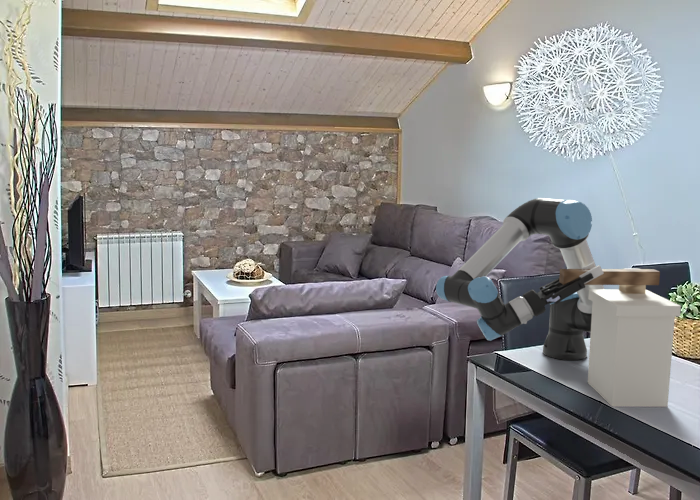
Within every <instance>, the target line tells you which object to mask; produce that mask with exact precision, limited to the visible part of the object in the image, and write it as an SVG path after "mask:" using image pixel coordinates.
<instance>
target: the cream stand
mask: <svg viewBox="0 0 700 500" xmlns="http://www.w3.org/2000/svg"><path fill="white" fill-rule="evenodd" d="M588 299H589V300H591V301H593V303H592V319H591V333H590V338H589V355H588V372H587V384H588V385H589V386H590V387H591V388H592V389H593V390H594V391H596V392H597V394H599V395H600V396H601V397H602V398H603V399H604V400H605V402H606V403H607V404H609V405H610V406H611V407H614V408H617V407H619V408H622V407H623V408H624V407H625V408H626V407H627V408H629V407H631V408H632V407H633V408H639V407H641V408H643V407H644V408H645V407H646V408H649V407H650V408H668V406H669V405H668V404H669V393H670V378H671V366H672V353H673V344H674V331H675V330H674V329H675V317H681V311H682V306H681V305H680V304H677V303H676V302H673V301H671V300H670V299H668V298H666V297H663V296H660V295H658V294H656V293H654V292H652V291H651V290H648V289H646V290H645V294H625V293H623V292H621V291H620V290H619V289H612V288H611V289H608V288H607V289H605V288H604V289H589V296H588Z"/></svg>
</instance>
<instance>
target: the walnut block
mask: <svg viewBox="0 0 700 500" xmlns="http://www.w3.org/2000/svg"><path fill="white" fill-rule="evenodd" d="M601 269H602V271H603V273H604V274H602V275H600V276H598V277H597V278H595V279H593V280H591V281H589V282H587V283H586V284H584V285H603V286H619V285H646V286H659V285H660V276H661V271H659V270H657V269H654V268H652V269H651V268H639V269H623V268H601ZM589 270H591V269H568V268H560V269H559V276H558V278H559V282H560V283H562V284H563V285H564V284H566V283H568V282H570V281H572V280H575V279H577V278H579V276H580V275H582V274H583V273H585V272H587V271H589Z"/></svg>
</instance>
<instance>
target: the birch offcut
mask: <svg viewBox="0 0 700 500" xmlns="http://www.w3.org/2000/svg"><path fill="white" fill-rule="evenodd" d="M646 288H647V285H618V290H620V291H621V292H623V293H625V294H645V290H647V289H646Z"/></svg>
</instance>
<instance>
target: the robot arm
mask: <svg viewBox="0 0 700 500" xmlns="http://www.w3.org/2000/svg"><path fill="white" fill-rule="evenodd" d="M592 222H593V216H592V212H591V210H590V208H589V207H588V206H587V205H586V204H585V203H583V202H581V201H578V200H574V199H559V198H558V199H556V198H547V197H537V198H533V199H531V200H528V201H526V202H524V203H523V204H521V205H519V206H518V207H516V208H515V209H513V210H512V211H511V212H510V213H509V214H508V215H507V216H506V217H505V218H504V219H503V221H502V225H501V226H500V227H499V228H498V229H497V230H496V231H495V232H494V233H493V234H491V237H489V238H488V239H487V240H486V241H485V242H484V243H483V245H481V246H480V248H478V250H477V251H475V253H474V254H473V255H471V256H470V258H469V259H467V261H465V263H463V264H462V266H461V267H460V268H458V270H456V272H454V274H453V275H452V276H451V275H444V276H441V277H440V278H439V279H438V280H437V283H436V285H435V292H436V294H437V296H438V297H439V298H440V299H441V300H444V301H447V302H449V303H454V304H459V305H462V306H466V307H470V308H472V309H473V308H474V309H477V311H478V313H479V314H480V317H479V318H477V320H476V323H477V326H478V327H479V329H480V331H481V332H482V334H483V336H484V337H485V339H486V340H487V341H490V342H491V341H493V340H495V339H498V338H499V337H503V336H504V335H506V334H507V333H510V332H511V331H512V330H514V329H515V328H517V327H520V326H521V325H523V324H524V325H527V324H528V322H529V321H531V320H532V319H533V318H534V317H538V316H540V315H542V314H544V313H545V312H546V307H545V306H546V305H549V321H548V322H549V324H548V333H547V335H546V338H545V340H544V343H543V345H542V353H543V354H544V355H545V356H547V357H550V358H552V359H557V360H562V361H563V360H564V361H578V360H584V359H585V358H587V354H588V349H587V346H586V342H585V339H584V332H586V333H589V334H591V319H592V303H593V301H591V300H589V299H588V296H589V289H605V285H584V284H586V283H587V282H589V281H591V280H593V279H595V278H597V277H598V276H600V275H602V274H604V273H603V271H602V269H603V268H602V267H601V265H600V264H598V265H596V262H595V259H594V257H593V254H592V252H591V249H590V245H589V244H588V241H587V240H588V238H589V235H590V234H589V233H590V232H591V229H592V225H593V224H592ZM537 234H538V235H545V236H548V237H549V239H550V241H551V244H552V246H553V247H554V248H557V249H559V250H560V253H561V257H562V258H563V261H564V264H565V266H566V269H591V270H589V271H587V272H585V273H583V274H582V275H580V276H579V278H577V279H575V280H572V281H570V282H568V283H566V284H564V285H563V284H562V283H560V282H559V277H558V278H557V279H554V280H553V281H550V282H548V283H546V284H544V285H541V286H540V287H539V288H538V289H539V291H538V292H537V291H536V290H535V289H530V290H528V291H527V292H524V293H523V294H522V296H520V295H519V296H517V297H515V298H514V299H511V300H510V301H508V302H506V303H504V301H503V299H502V297H501V296H500V293H499V290H498V288H497V286H496V285H495V283H494V282H493V280H492V279H491V278H490V277H489V276H488V275H489V274H490V273H491V272H492V271H493V270H494V269H495V268H496V267H497V266H498V265H499V263H501V262H502V260H504V258H506V257H507V256H508V254H509V253H510V252H511V251H512V250H513V249H514V248H515V247H516V246H517V245H518V244H519V243H520V242H525V241H527V240H528V239H529V237H530V236H533V235H537Z"/></svg>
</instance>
